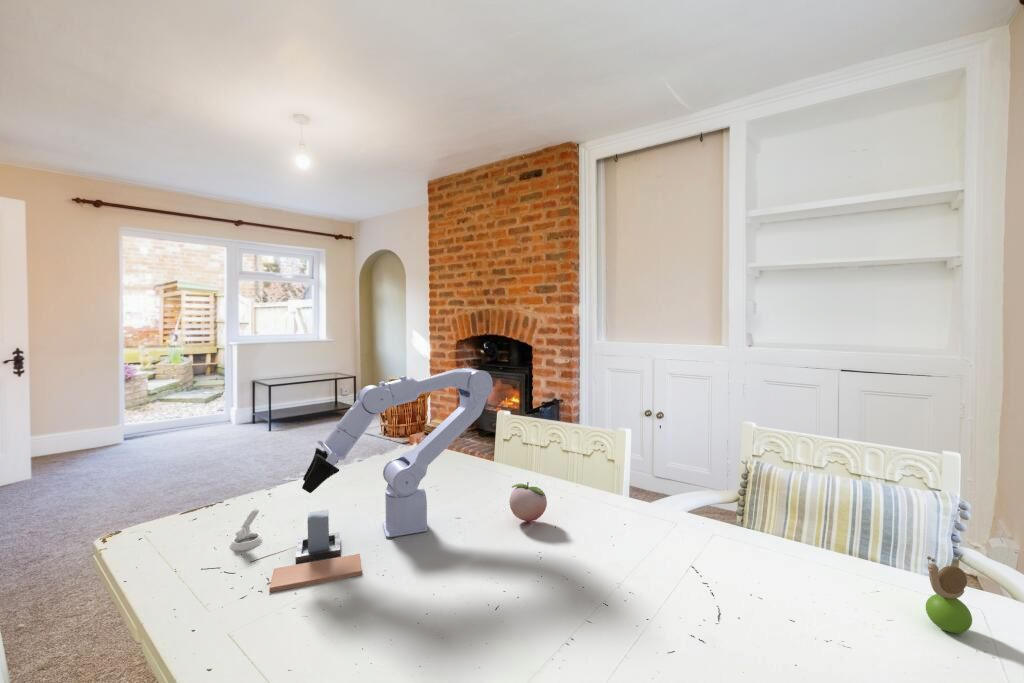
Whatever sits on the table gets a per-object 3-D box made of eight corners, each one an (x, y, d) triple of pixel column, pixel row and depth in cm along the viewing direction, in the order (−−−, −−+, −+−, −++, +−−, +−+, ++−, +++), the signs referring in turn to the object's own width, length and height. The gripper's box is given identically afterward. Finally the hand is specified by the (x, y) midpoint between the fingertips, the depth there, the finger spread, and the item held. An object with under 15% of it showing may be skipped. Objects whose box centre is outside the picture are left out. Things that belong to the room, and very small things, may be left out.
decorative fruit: (503, 526, 111) (503, 485, 111) (515, 513, 119) (515, 474, 118) (540, 533, 108) (540, 491, 107) (550, 519, 115) (551, 479, 115)
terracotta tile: (359, 557, 97) (359, 553, 97) (361, 574, 90) (361, 570, 90) (273, 572, 91) (273, 568, 91) (269, 592, 84) (269, 587, 84)
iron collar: (339, 538, 105) (339, 532, 105) (340, 556, 97) (340, 549, 97) (298, 545, 102) (298, 538, 102) (295, 564, 94) (295, 557, 94)
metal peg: (328, 545, 102) (328, 509, 102) (328, 553, 98) (328, 516, 98) (309, 548, 101) (308, 512, 100) (308, 557, 97) (307, 519, 96)
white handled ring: (270, 531, 99) (244, 519, 98) (247, 565, 101) (221, 553, 99) (281, 513, 105) (257, 501, 104) (259, 545, 107) (235, 533, 105)
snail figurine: (910, 619, 77) (913, 549, 76) (945, 617, 77) (949, 547, 77) (943, 642, 71) (946, 566, 71) (981, 640, 72) (985, 564, 71)
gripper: (331, 418, 109) (291, 469, 105) (333, 426, 95) (288, 484, 92) (356, 435, 111) (318, 485, 107) (361, 445, 97) (318, 502, 94)
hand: (306, 486), depth 99 cm, fingers open, 7 cm apart
